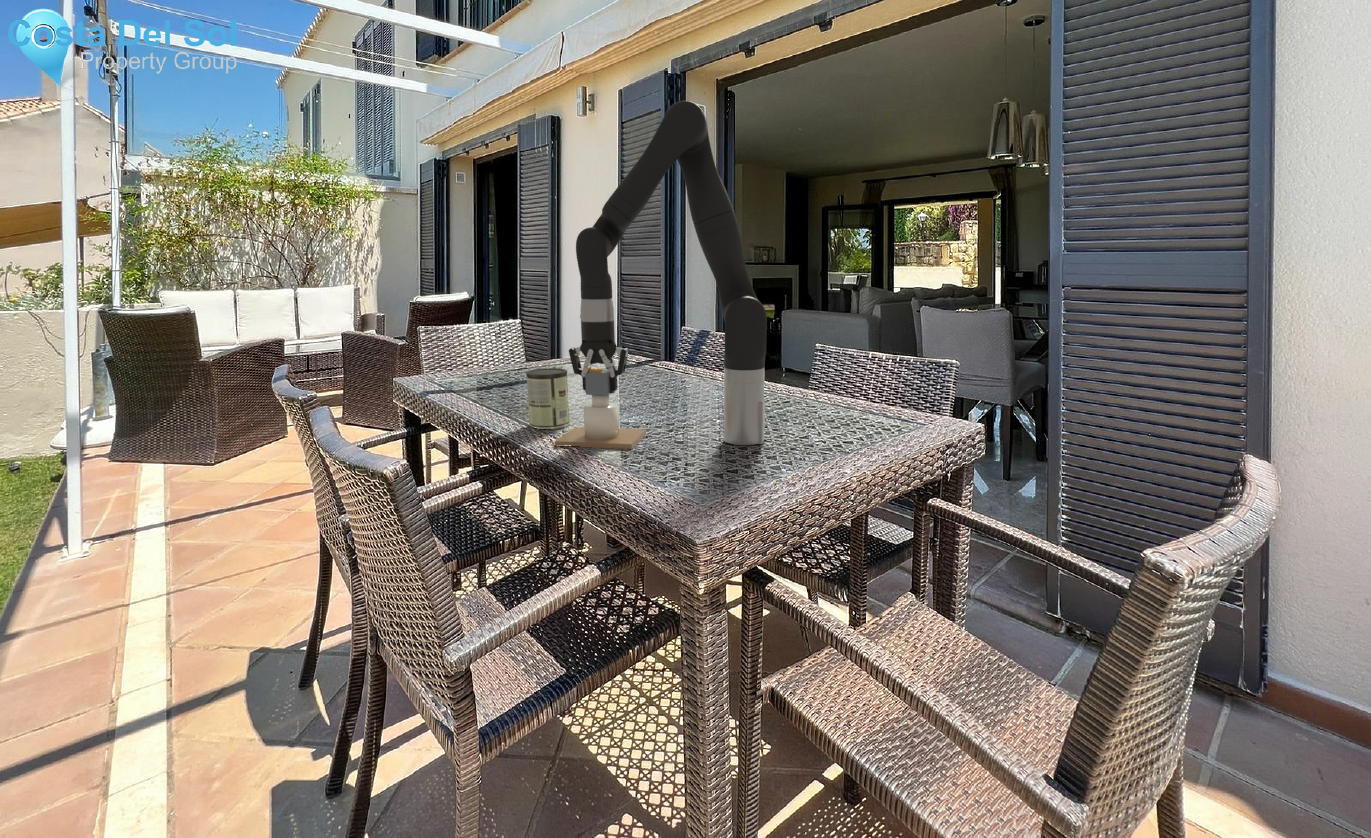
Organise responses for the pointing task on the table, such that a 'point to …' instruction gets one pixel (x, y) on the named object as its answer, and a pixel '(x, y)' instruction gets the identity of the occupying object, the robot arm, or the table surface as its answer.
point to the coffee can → (548, 398)
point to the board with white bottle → (601, 428)
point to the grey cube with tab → (597, 382)
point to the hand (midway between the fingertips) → (600, 392)
